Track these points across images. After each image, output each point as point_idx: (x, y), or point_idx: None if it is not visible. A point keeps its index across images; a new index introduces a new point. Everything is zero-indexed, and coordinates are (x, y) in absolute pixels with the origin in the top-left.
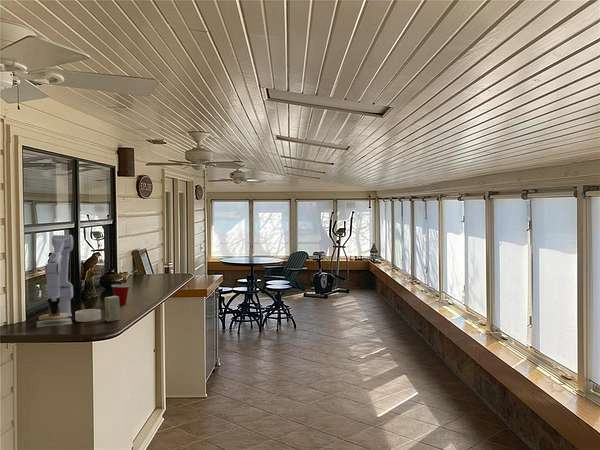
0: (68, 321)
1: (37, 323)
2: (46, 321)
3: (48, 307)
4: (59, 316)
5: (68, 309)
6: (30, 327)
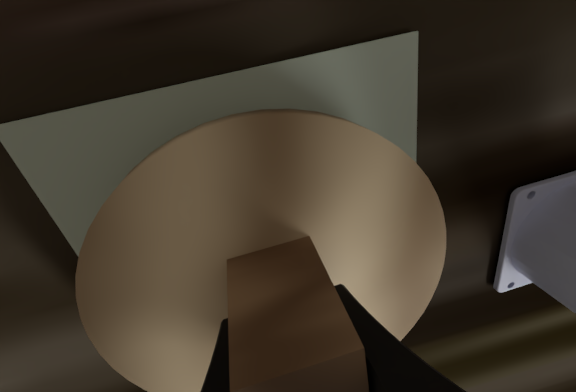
0: None
1: (269, 74)
2: None
3: (298, 361)
4: (193, 367)
5: (570, 309)
6: (54, 16)
